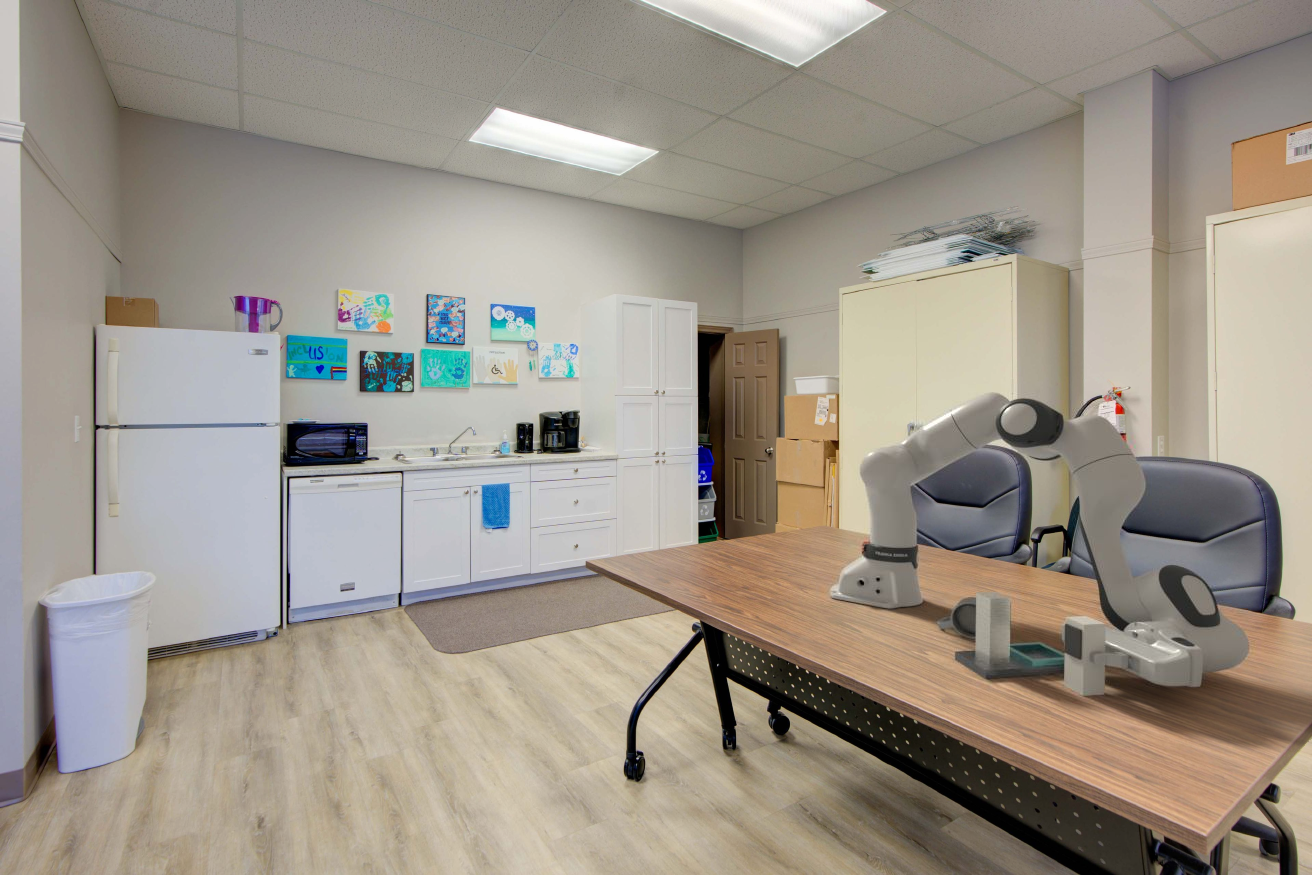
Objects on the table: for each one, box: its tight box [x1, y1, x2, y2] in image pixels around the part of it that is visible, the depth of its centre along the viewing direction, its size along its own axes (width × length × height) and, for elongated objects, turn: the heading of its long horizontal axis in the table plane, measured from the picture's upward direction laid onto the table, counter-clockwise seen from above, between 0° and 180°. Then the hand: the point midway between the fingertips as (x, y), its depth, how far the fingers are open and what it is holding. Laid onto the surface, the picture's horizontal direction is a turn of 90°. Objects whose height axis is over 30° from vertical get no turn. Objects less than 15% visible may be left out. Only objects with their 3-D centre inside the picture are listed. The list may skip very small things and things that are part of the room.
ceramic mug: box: [936, 596, 976, 640], centre depth 134 cm, size 11×8×8 cm
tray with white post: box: [954, 591, 1065, 680], centre depth 116 cm, size 18×9×14 cm, turn 98°
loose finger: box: [1063, 615, 1107, 697], centre depth 106 cm, size 4×4×12 cm
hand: (1079, 652), depth 105 cm, fingers closed on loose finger, 4 cm apart
